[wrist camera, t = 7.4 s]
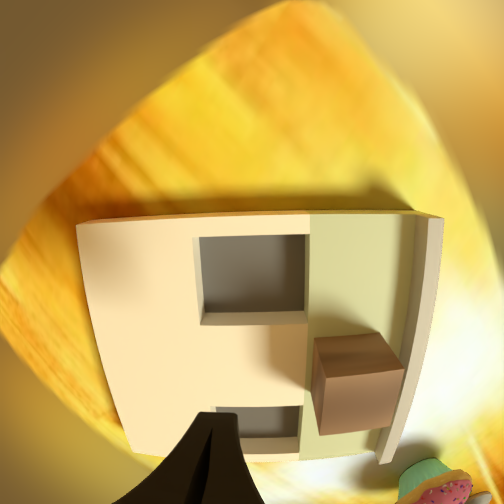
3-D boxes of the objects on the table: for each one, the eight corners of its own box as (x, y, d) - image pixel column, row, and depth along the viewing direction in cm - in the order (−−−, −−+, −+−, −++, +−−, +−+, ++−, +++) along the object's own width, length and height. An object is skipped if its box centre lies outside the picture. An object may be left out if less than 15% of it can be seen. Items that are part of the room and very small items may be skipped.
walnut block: (370, 386, 18) (389, 426, 14) (310, 392, 18) (319, 436, 15) (379, 332, 17) (404, 368, 14) (313, 337, 18) (326, 378, 14)
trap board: (379, 433, 22) (391, 462, 18) (139, 436, 22) (127, 464, 19) (415, 210, 18) (444, 218, 14) (91, 219, 18) (61, 229, 15)
